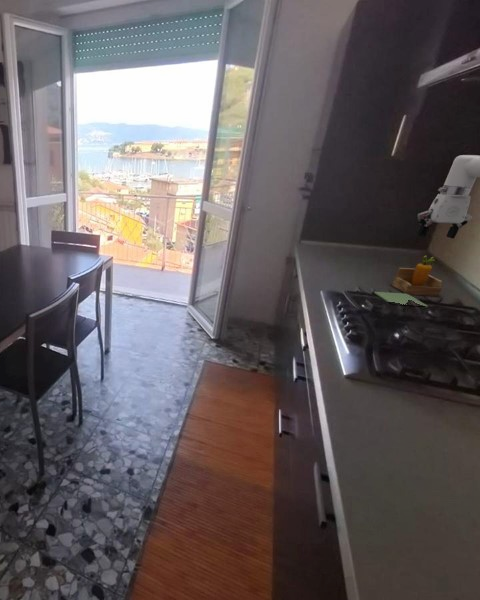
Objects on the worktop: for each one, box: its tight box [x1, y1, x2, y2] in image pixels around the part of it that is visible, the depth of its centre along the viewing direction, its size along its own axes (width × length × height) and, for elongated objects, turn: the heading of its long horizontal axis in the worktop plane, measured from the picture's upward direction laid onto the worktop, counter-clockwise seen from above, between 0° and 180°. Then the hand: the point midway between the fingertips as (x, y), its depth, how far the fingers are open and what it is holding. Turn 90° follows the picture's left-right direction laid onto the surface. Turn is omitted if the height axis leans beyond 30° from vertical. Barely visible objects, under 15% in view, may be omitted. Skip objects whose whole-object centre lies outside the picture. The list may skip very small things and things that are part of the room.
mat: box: [373, 291, 429, 309], centre depth 138 cm, size 12×12×1 cm
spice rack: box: [391, 267, 443, 297], centre depth 145 cm, size 10×11×8 cm
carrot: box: [412, 255, 435, 286], centre depth 144 cm, size 5×5×15 cm
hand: (435, 236), depth 138 cm, fingers open, 9 cm apart
